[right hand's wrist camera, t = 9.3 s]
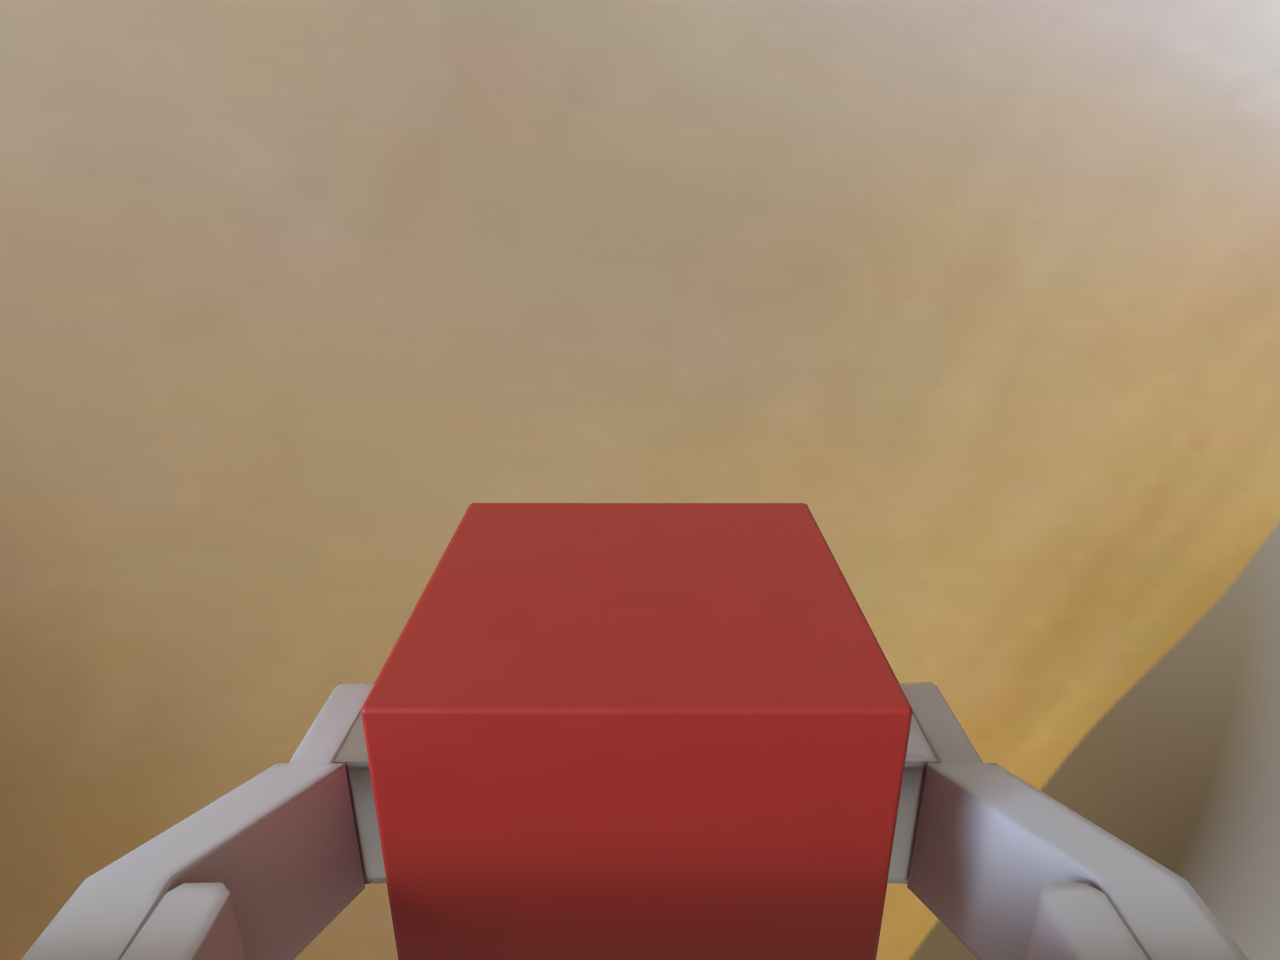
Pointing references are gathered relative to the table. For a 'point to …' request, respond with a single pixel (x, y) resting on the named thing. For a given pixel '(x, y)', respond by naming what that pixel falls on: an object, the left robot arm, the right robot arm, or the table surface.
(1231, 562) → the table surface
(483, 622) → the cube
